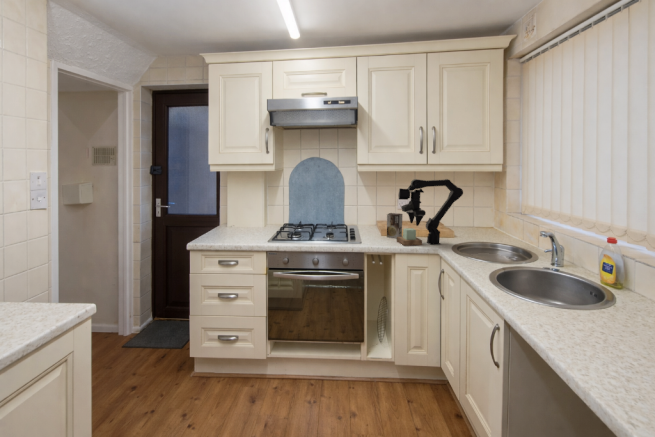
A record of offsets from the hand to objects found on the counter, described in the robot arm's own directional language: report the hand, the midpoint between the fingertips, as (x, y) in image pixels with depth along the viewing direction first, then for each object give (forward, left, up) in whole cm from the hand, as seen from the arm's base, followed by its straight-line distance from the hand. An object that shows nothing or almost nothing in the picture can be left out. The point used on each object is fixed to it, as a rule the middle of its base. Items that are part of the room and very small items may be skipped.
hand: (414, 224), depth 224 cm
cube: (+3, 0, -9) cm, 9 cm away
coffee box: (+6, -19, -12) cm, 23 cm away
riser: (+3, 0, -12) cm, 12 cm away
